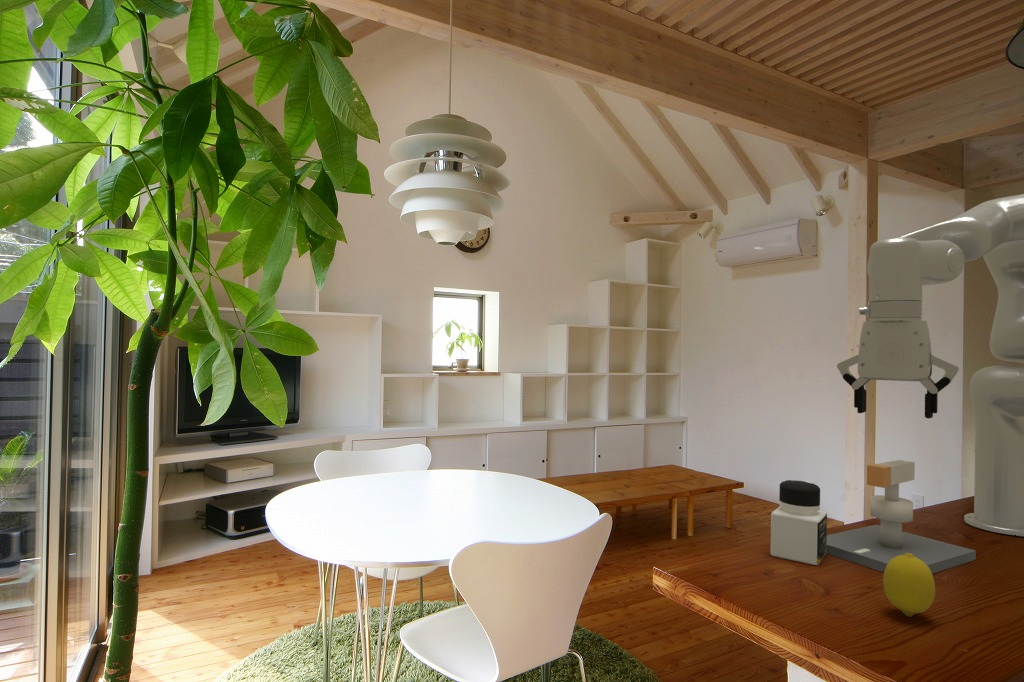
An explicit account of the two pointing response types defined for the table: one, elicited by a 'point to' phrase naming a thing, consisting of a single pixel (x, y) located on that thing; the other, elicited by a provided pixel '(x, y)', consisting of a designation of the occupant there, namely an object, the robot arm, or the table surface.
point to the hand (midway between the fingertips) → (894, 414)
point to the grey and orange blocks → (891, 490)
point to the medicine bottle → (799, 523)
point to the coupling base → (894, 547)
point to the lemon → (909, 584)
